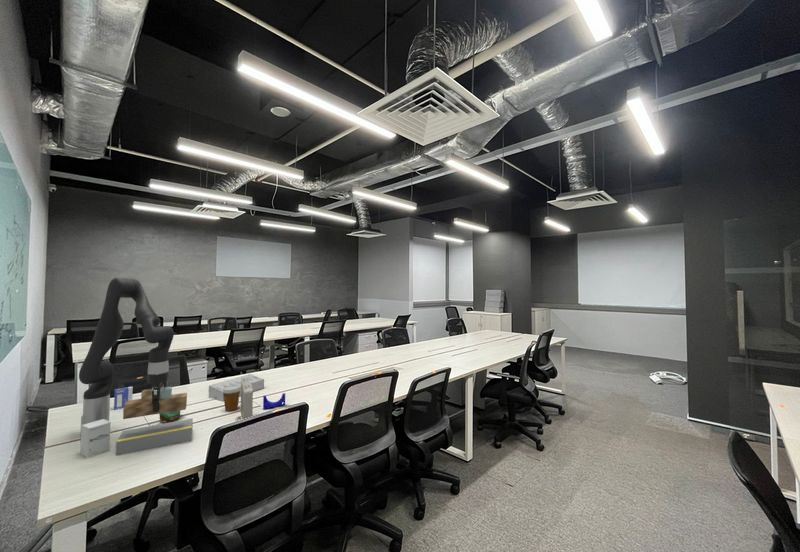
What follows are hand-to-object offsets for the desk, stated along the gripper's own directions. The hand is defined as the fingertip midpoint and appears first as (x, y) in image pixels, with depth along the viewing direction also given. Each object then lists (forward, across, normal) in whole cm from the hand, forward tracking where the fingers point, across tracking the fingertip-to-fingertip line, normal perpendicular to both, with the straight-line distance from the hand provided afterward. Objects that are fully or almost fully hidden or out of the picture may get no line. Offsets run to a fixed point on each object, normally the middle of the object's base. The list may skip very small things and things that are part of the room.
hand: (157, 409), depth 142 cm
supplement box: (+16, -2, -21) cm, 26 cm away
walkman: (+16, -59, -22) cm, 65 cm away
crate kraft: (-5, 0, -3) cm, 6 cm away
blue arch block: (+15, -21, +53) cm, 59 cm away
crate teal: (-5, 0, +3) cm, 6 cm away
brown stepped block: (+1, 0, 0) cm, 1 cm away
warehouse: (+16, -59, +36) cm, 71 cm away
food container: (+15, -26, +4) cm, 30 cm away
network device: (+15, -4, +36) cm, 40 cm away
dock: (+15, 0, 0) cm, 15 cm away
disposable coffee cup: (+15, -29, +31) cm, 45 cm away
